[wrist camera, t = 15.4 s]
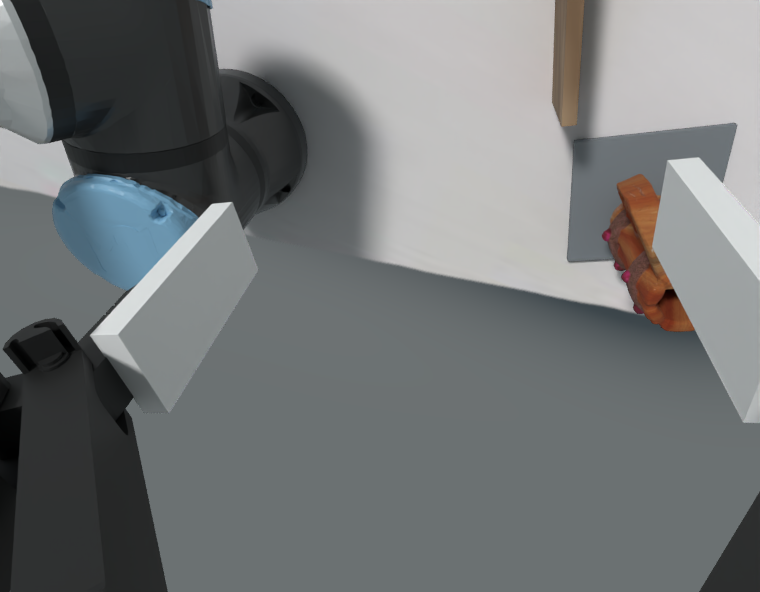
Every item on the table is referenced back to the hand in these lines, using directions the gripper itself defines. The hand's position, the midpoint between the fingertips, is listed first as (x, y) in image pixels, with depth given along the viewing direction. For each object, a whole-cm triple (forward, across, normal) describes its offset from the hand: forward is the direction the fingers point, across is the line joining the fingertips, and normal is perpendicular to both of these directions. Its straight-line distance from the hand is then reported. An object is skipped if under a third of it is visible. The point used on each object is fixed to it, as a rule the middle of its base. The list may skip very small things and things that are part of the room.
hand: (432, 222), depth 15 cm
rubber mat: (+37, +17, -19) cm, 45 cm away
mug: (+36, +16, -19) cm, 44 cm away
